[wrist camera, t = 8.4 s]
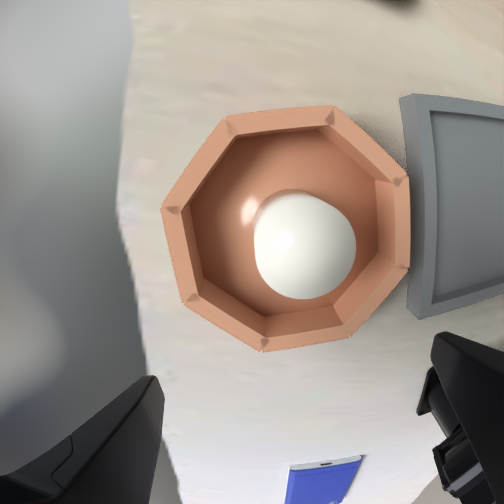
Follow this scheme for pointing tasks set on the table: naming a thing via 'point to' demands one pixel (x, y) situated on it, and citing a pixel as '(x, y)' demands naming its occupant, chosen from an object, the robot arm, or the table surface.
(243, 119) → the bowl
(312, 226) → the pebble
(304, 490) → the hard drive
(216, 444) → the table surface
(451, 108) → the parts tray
